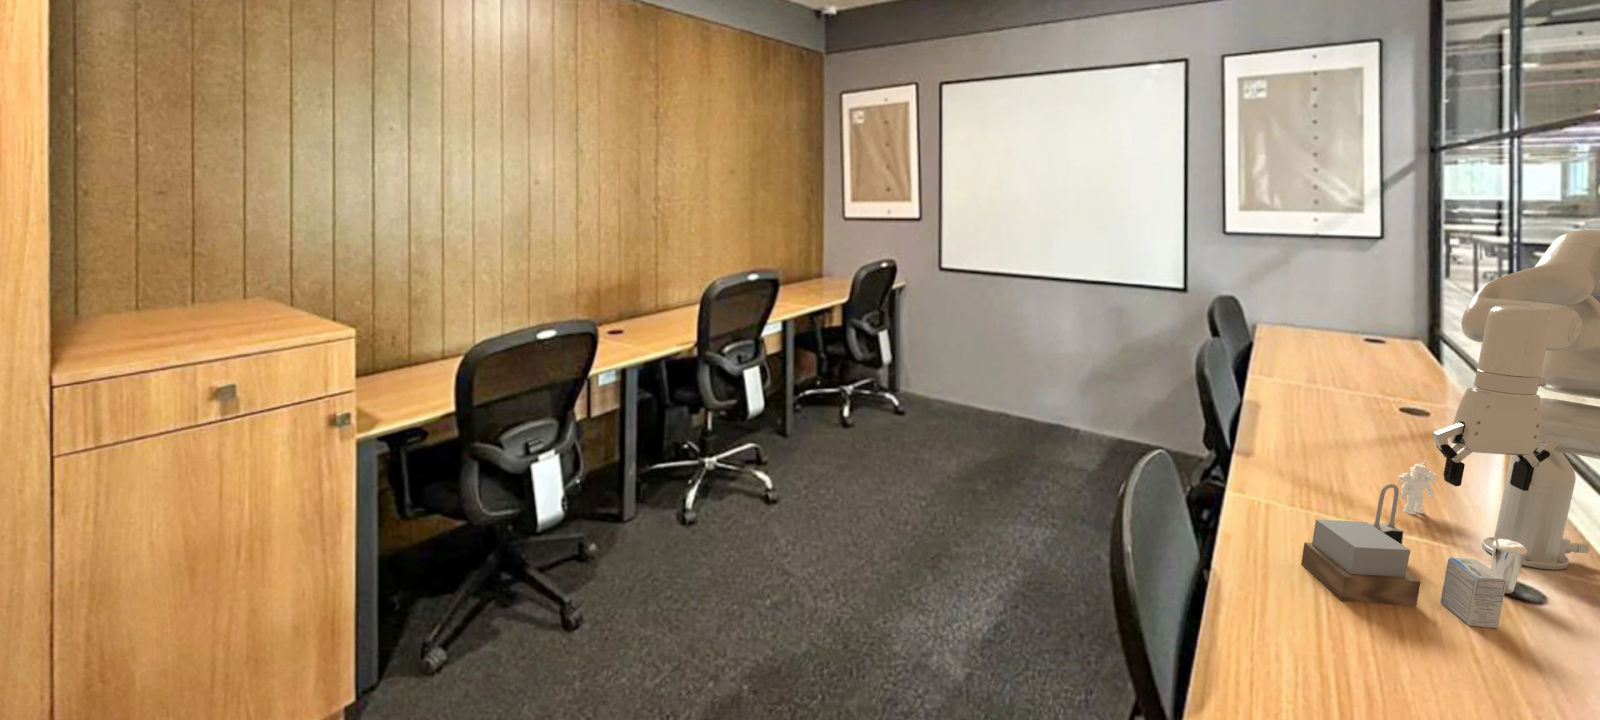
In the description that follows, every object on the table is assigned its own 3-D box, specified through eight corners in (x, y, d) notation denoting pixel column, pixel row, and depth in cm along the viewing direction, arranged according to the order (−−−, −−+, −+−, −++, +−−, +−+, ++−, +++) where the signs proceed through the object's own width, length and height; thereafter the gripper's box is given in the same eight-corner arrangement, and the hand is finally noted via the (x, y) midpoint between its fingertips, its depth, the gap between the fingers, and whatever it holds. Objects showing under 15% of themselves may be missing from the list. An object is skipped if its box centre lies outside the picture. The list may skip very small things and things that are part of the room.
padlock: (1373, 562, 150) (1386, 489, 147) (1354, 553, 154) (1366, 481, 151) (1402, 560, 152) (1416, 486, 149) (1383, 550, 156) (1395, 479, 153)
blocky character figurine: (1420, 507, 178) (1429, 457, 176) (1437, 513, 175) (1447, 462, 172) (1388, 510, 176) (1396, 459, 174) (1404, 516, 173) (1413, 465, 170)
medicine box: (1498, 629, 127) (1508, 580, 125) (1467, 626, 128) (1477, 577, 126) (1468, 605, 135) (1477, 558, 133) (1438, 602, 136) (1447, 556, 134)
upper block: (1362, 547, 147) (1366, 521, 146) (1405, 577, 135) (1410, 550, 134) (1311, 544, 147) (1315, 519, 146) (1350, 574, 136) (1355, 547, 135)
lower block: (1368, 571, 148) (1372, 546, 147) (1415, 608, 134) (1420, 581, 133) (1300, 566, 149) (1304, 542, 148) (1340, 603, 136) (1344, 576, 135)
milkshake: (1473, 583, 143) (1483, 532, 140) (1500, 582, 143) (1511, 531, 141) (1497, 596, 138) (1508, 543, 136) (1525, 595, 139) (1536, 542, 136)
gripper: (1549, 381, 127) (1528, 481, 130) (1430, 375, 129) (1412, 474, 133) (1587, 392, 119) (1563, 498, 123) (1460, 385, 122) (1440, 489, 125)
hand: (1485, 485), depth 128 cm, fingers open, 9 cm apart
